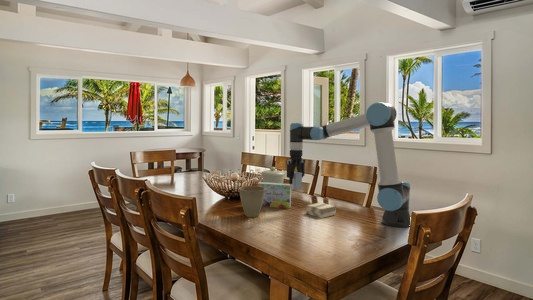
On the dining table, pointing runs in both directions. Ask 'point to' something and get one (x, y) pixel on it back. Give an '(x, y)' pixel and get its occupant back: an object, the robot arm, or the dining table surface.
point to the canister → (273, 176)
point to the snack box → (276, 195)
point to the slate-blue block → (297, 181)
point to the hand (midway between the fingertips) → (295, 188)
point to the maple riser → (321, 210)
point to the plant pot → (252, 199)
